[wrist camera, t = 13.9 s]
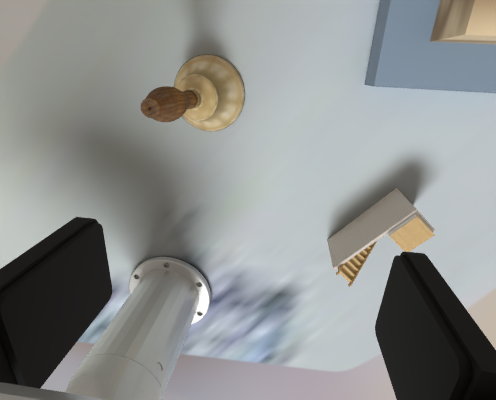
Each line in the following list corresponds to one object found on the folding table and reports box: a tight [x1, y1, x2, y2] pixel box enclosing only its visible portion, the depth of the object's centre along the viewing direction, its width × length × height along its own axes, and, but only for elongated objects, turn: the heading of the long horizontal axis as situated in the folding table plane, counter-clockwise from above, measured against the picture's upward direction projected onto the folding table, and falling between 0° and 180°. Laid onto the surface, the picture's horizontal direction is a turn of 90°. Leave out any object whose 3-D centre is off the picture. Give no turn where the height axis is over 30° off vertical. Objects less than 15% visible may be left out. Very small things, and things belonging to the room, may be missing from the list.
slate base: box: [365, 0, 496, 93], centre depth 28 cm, size 14×14×4 cm
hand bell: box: [141, 55, 245, 131], centre depth 28 cm, size 8×8×16 cm
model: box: [327, 188, 435, 287], centre depth 36 cm, size 3×11×8 cm, turn 136°
